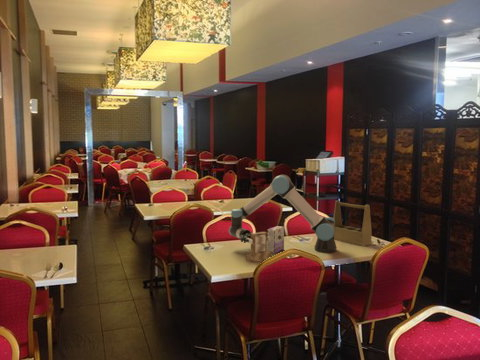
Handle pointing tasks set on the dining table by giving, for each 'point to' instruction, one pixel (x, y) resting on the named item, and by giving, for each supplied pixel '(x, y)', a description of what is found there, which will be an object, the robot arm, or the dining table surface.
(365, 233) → the caddy
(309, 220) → the robot arm
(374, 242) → the dining table surface
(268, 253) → the ledge
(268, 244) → the candy box
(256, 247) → the wooden block
